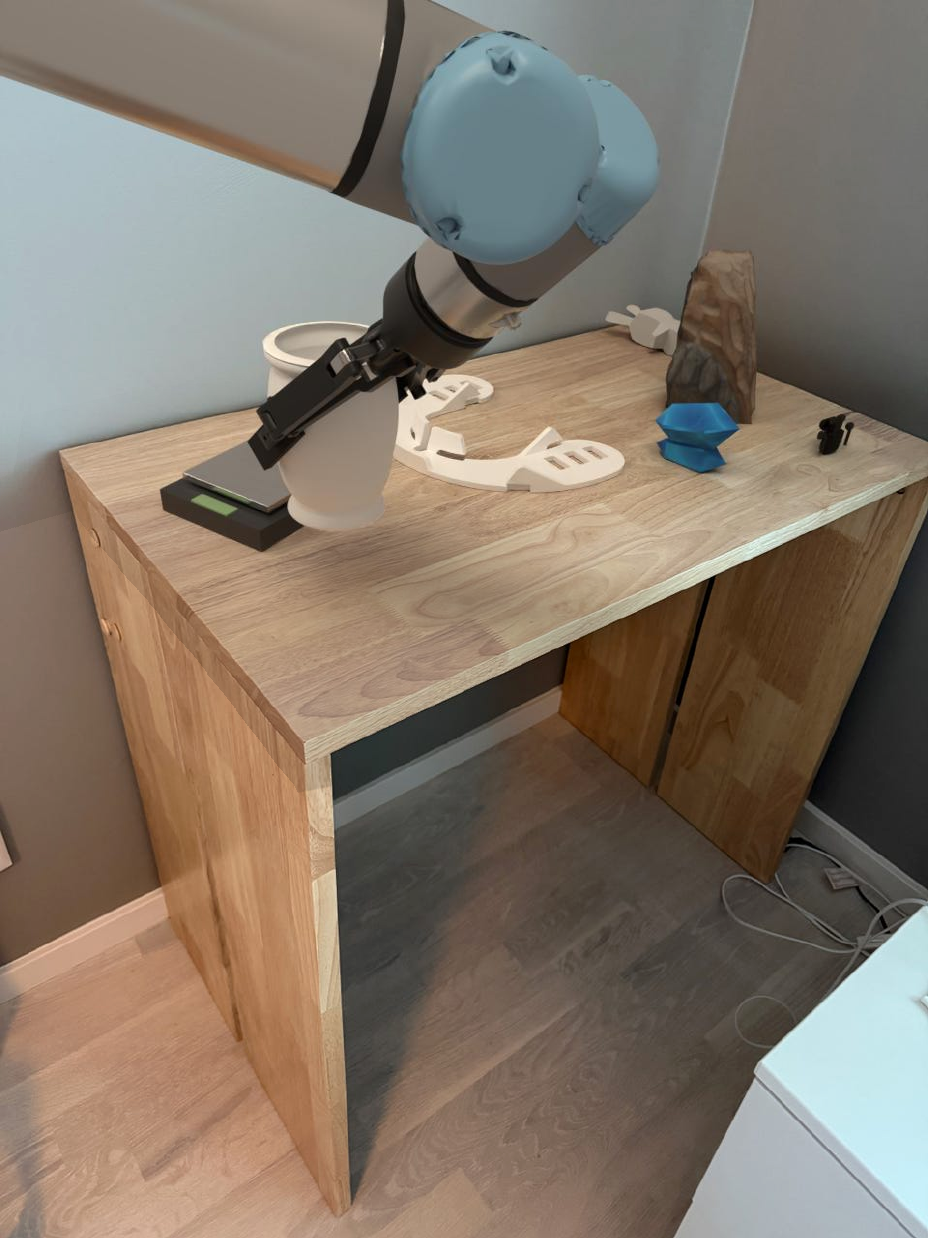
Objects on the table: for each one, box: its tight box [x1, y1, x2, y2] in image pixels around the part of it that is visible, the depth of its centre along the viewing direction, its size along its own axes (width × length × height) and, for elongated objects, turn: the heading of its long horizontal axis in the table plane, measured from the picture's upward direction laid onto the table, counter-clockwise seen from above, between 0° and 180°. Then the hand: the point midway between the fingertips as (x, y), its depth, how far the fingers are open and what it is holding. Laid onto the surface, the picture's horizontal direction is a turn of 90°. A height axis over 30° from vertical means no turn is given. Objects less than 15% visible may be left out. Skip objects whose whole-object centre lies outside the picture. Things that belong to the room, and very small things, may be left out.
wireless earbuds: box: [816, 413, 855, 455], centre depth 112 cm, size 7×2×5 cm, turn 123°
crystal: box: [654, 403, 741, 474], centre depth 106 cm, size 7×9×12 cm
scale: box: [159, 477, 305, 553], centre depth 95 cm, size 14×14×3 cm
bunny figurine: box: [605, 304, 681, 357], centre depth 142 cm, size 10×5×15 cm
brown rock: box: [664, 248, 758, 425], centre depth 118 cm, size 13×13×20 cm
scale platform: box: [181, 439, 292, 513], centre depth 94 cm, size 12×10×1 cm
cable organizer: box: [393, 374, 626, 494], centre depth 111 cm, size 35×24×3 cm
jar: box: [261, 321, 399, 532], centre depth 73 cm, size 11×10×15 cm
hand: (312, 434), depth 75 cm, fingers closed on jar, 10 cm apart
